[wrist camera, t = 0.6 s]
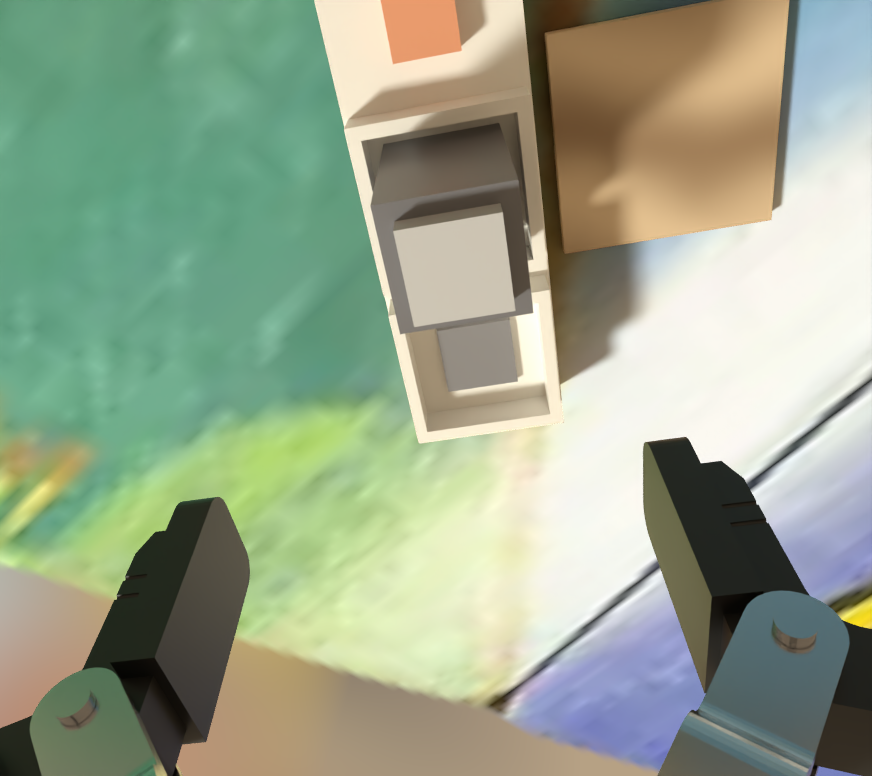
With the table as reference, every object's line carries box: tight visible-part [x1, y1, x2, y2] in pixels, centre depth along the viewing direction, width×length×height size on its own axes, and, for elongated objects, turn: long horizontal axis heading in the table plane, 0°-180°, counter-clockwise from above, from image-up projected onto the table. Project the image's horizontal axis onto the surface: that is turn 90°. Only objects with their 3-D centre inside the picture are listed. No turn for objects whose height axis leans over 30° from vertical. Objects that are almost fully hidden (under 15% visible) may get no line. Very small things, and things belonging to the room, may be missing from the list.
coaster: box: [544, 0, 789, 254], centre depth 30 cm, size 9×9×1 cm
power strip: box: [314, 0, 564, 443], centre depth 29 cm, size 24×7×4 cm, turn 10°
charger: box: [370, 123, 534, 334], centre depth 25 cm, size 4×4×8 cm
